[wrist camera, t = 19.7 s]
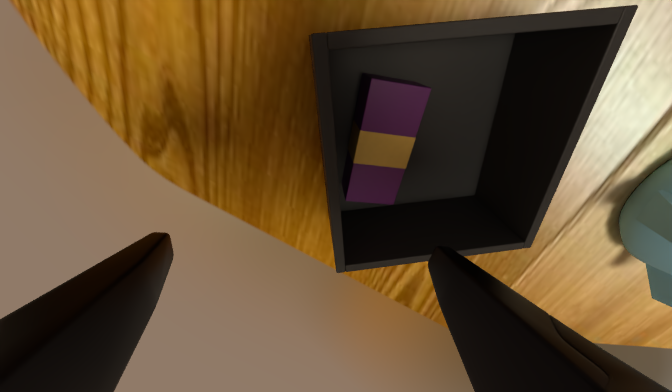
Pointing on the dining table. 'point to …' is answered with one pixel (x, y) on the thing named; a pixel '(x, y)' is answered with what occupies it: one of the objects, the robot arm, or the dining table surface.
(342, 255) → the waste bin
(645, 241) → the teakettle
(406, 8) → the dining table surface
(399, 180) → the chocolate bar
